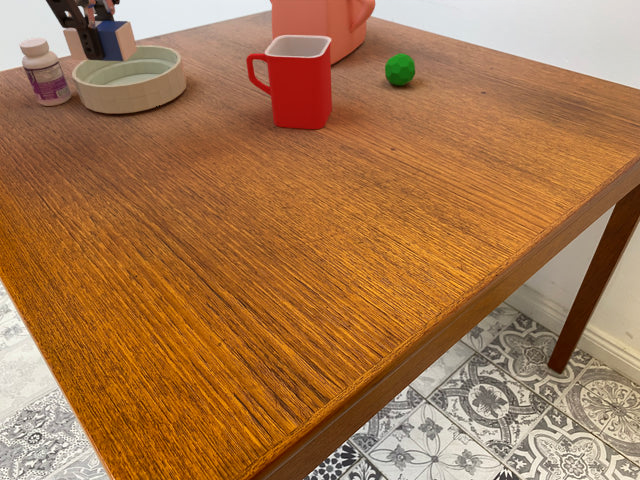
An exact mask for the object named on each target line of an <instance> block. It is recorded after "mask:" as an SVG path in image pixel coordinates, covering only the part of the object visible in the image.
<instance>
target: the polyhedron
mask: <svg viewBox="0 0 640 480" xmlns="http://www.w3.org/2000/svg"><path fill="white" fill-rule="evenodd" d="M384 73H385V79H386V80H387V81H388V82H389V83H390V84H391V85H393V86H397V87H402V86H404V85H406V84H408V83H409V82H411V81H413V79H414V77H415V75H416V64H415V60H414V59H413V58H412V57H411V56H410V55H408V54H407V53H401V52H400V53H397V54H395V55H393V56H391V57H390V58H388V59H387V61H386V63H385V65H384Z"/></svg>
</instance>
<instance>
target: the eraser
mask: <svg viewBox="0 0 640 480" xmlns="http://www.w3.org/2000/svg"><path fill="white" fill-rule="evenodd" d="M95 23H96V26H95V27H97V28H98V33H99V36H100V39H101V43H102V46H103V49H104V52H105V58H104V59H102V60H99V61H126V60H127V59H128V58H129V57H131V56H132V55H133V54H134V53H135V52H136V51H137V46H138V45H137V42H136V39H135V35H134V31H133V27H132V24H131V21H128V20H114V21H95ZM62 33H63V37H64V39H65V42H66V44H67V47H68V50H69V53H70V56H71V59H72V60H80V61H81V60H82V61H84V60H89V59H87V57H86V55H85V53H84V50H83V47H82V44H81V41H80V38H79V35H78V32H77V30H76V29H74V28H63V30H62Z"/></svg>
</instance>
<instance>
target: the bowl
mask: <svg viewBox="0 0 640 480" xmlns="http://www.w3.org/2000/svg"><path fill="white" fill-rule="evenodd" d="M136 46H137V51H136V52H135V53H134V54H133V55H132V56H131V57H129V58H128V59H127V60H126V61H99V60H82V61H80V62H79V63H77V65H75V67H74V68H73V70H72V71H71V75H72V80H73V82H74V86H75V88H76V91H77V94H78V97H79V99H80V102H81V104H82V105H83V106H84V107H85V108H86V109H89V110H91V111H93V112H96V113H97V112H98V113H103V114H130V113H137V112H144V111H147V110H151V109H154V108H157V107H159V105H160V106H162V105H165V104H167V103H169V102H171V101H173V100H175V99H176V98H178V96H180V95H182V94H183V93H184V91H185V90H186V88H187V84H188V80H187V77H186V72H185V67H184V63H183V62H184V61H183V58H182V55H181V54H180V52H179V51H178V50H175V49H174V48H170V47H167V46H164V45H163V46H162V45H155V44H148V45H146V44H143V45H136ZM156 106H157V107H156Z"/></svg>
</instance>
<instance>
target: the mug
mask: <svg viewBox="0 0 640 480" xmlns="http://www.w3.org/2000/svg"><path fill="white" fill-rule="evenodd" d="M330 45H331V38H329V37H326V36H307V35H282V36H278V37H277V38H275V39H274V40H273V39H272V41H271V43H270V44H269V45H268V46H267V48H265V50H264V53H249V54H248V55H247V57H246V61H245V62H246V69H247V76H248V79H249V82H250V83H251V84H252V85H254V86H255V87H257V88H258V89H259V90H261V91H262V92H264V93H266V94H267V95H269V96H270V101H271V108H272V109H271V111H272V117H273V124H274V125H275V126H276V127H279V128H284V129H285V128H286V129H301V130H302V129H303V130H319V129H322V128H323V127H325V126H326V124H327V122H328V120H329V118H330V115H331V113H332V111H333V101H332V100H333V99H332V98H333V97H332V96H333V95H332V93H333V91H332V67H331V65H332V64H331V61H330ZM254 60H258V61H262V62H264V63H266V65H267V74H268V75H267V76H268V80H269V81H268V83H269V85H266V84H265V83H263V82H262V81H260V80H259V79H258V78H257V76H256V75H255V69H254Z"/></svg>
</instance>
